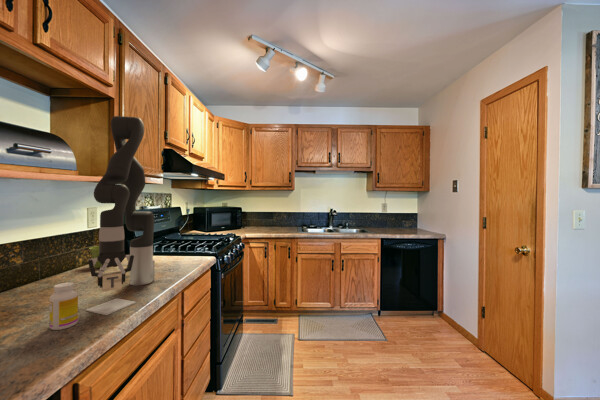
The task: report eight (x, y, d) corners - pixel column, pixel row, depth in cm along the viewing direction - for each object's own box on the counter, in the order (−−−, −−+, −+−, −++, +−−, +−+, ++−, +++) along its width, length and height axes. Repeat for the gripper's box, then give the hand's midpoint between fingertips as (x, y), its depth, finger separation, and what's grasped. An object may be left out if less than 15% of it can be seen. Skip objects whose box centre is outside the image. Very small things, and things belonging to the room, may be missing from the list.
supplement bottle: (83, 320, 87) (83, 281, 86) (66, 330, 80) (66, 288, 80) (62, 320, 86) (62, 281, 86) (43, 331, 80) (43, 288, 80)
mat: (116, 299, 104) (116, 298, 104) (135, 303, 101) (135, 301, 101) (86, 310, 94) (86, 309, 94) (106, 315, 90) (106, 313, 90)
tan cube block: (101, 287, 97) (102, 272, 97) (120, 284, 101) (120, 270, 101) (102, 291, 93) (102, 276, 93) (121, 288, 96) (121, 273, 96)
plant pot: (120, 264, 157) (120, 245, 157) (103, 269, 145) (103, 249, 145) (101, 263, 158) (101, 244, 158) (83, 269, 146) (83, 248, 146)
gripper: (133, 236, 104) (133, 279, 104) (86, 239, 95) (86, 286, 95) (136, 238, 99) (136, 284, 99) (86, 242, 90) (86, 292, 90)
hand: (111, 285), depth 97 cm, fingers closed on tan cube block, 5 cm apart
